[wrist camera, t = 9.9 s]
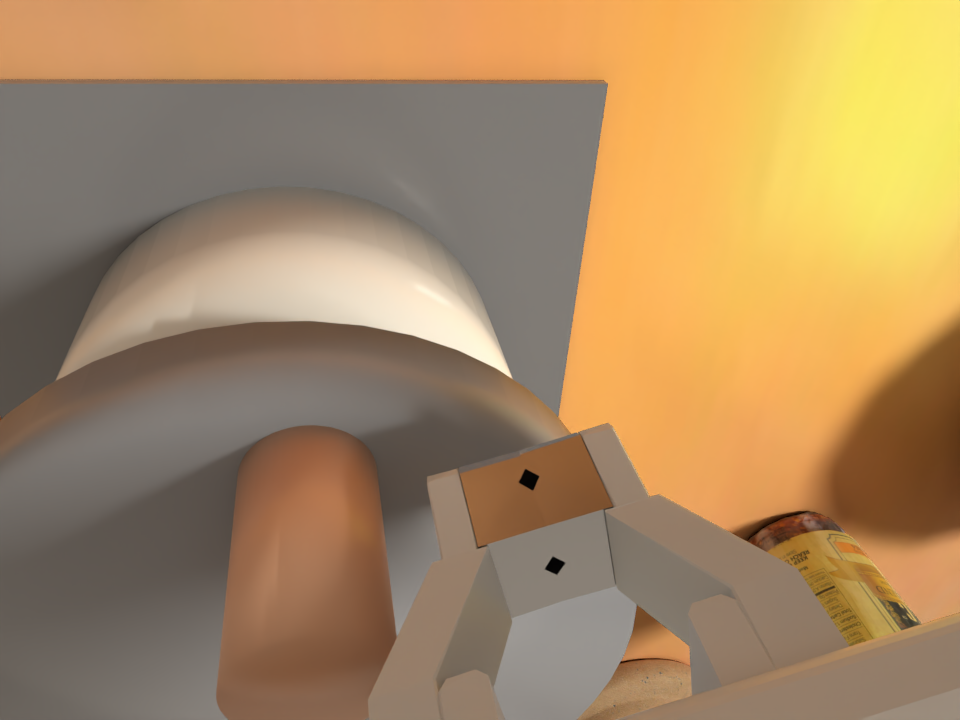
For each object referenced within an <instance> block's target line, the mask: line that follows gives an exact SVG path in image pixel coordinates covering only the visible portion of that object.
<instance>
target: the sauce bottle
mask: <svg viewBox="0 0 960 720" xmlns="http://www.w3.org/2000/svg"><path fill="white" fill-rule="evenodd" d="M747 542H749V543H751V544H753V545H754V546H756V547H758V548H760V549H762V550H764V551H765V552H767V553H769V554H771V555H773V556H775V557H777V558H778V559H780V560H782V561H784V562H786V563H788V564H790V565H791V566H793V567H795V568H797V569H798V570H799V572H800V573H801V575H802V576H803V578H804V579H805V581H806V582H807V584H808V585H809V587H810V588H811V590H812V591H813V593H814V594H815V596H816V597H817V599H818V600H819V602H820V603H821V605H822V606H823V608H824V609H825V611H826V612H827V613H828V615H829V616H830V618H831V619H832V621H833V622H834V624H835V625H836V627H837V628H838V630H839V631H840V633H841V634H842V636H843V637H844V639H845V640H846V642H847V643H848V645H849V646H853V645H856V644H859V643H863V642H866V641H869V640H872V639H875V638H879V637H882V636H885V635H888V634H891V633H895V632H898V631H901V630H904V629H908V628H911V627H914V626H917V625H920V624H921V622H920V621H919V620H918V619H917V617H916V616H915V615H914V614H913V612H912V611H911V610H910V609H909V607H908V606H907V605H906V604H905V602H904V601H903V600H902V598H901V597H900V596H899V595H898V593H897V592H896V591H895V590H894V588H893V587H892V586H891V585H890V583H889V582H888V581H887V580H886V578H885V577H884V576H883V575H882V573H881V572H880V571H879V570H878V568H877V567H876V566H875V564H874V563H873V562H872V561H871V559H870V558H869V557H868V556H867V554H866V553H865V552H864V551H863V549H862V548H861V547H860V546H859V544H858V543H857V542H856V540H855V539H854V538H852V537H851V536H850V535H848V534H846V533H845V532H844V530H843V529H842V528H841V527H839V526H838V524H837V523H835V522H834V521H832V520H831V519H830V518H829V517H825V516H823V515H821V514H818V513H815V512H805V513H803V514H800V515H794V516H790V517H786V518H783V519H780V520H778V521H777V522H774V523H772V524H770V525H768V526H766V527H765V528H763V529H761V530H760V531H759V532H758V533H757V534H756V535H754V536H752V537H751V538H750V539H749V540H748V541H747Z"/></svg>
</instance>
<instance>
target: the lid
mask: <svg viewBox="0 0 960 720" xmlns="http://www.w3.org/2000/svg"><path fill="white" fill-rule="evenodd" d="M570 434H571V433H570V432H569V431H568V429H567V428H566V427H565V426H564V424H563V423H562V422H561V420H560V419H559V418H558V417H557V415H556V414H555V413H554V412H553V411H552V410H551V409H550V408H548V407H547V406H546V405H545V404H544V403H543V402H542V401H541V400H540V399H539V398H537V397H536V396H535V395H534V394H533V393H532V392H531V391H530V390H528V389H527V388H525V387H524V386H522V385H521V384H519V383H518V382H516V381H515V380H513V379H512V378H510V377H509V376H507V375H506V374H504V373H503V372H501V371H500V370H498V369H497V368H494V367H492V366H490V365H488V364H486V363H484V362H482V361H480V360H478V359H476V358H473V357H471V356H469V355H467V354H465V353H463V352H461V351H459V350H456V349H453V348H450V347H447V346H444V345H441V344H438V343H435V342H432V341H428V340H425V339H422V338H419V337H416V336H413V335H408V334H403V333H398V332H393V331H388V330H383V329H378V328H373V327H368V326H363V325H351V324H340V323H328V322H317V321H284V322H252V323H244V324H236V325H229V326H221V327H213V328H206V329H198V330H194V331H190V332H186V333H182V334H178V335H173V336H169V337H165V338H161V339H157V340H153V341H149V342H145V343H142V344H139V345H136V346H134V347H131V348H128V349H126V350H123V351H120V352H117V353H115V354H112V355H109V356H107V357H104V358H101V359H99V360H96V361H93V362H91V363H89V364H87V365H85V366H83V367H81V368H80V369H78V370H76V371H74V372H72V373H70V374H68V375H66V376H64V377H62V378H60V379H58V380H56V381H55V382H53V383H51V384H49V385H47V386H45V387H44V388H43V389H41V390H40V391H38V392H37V393H36V394H34V395H33V396H31V397H30V398H29V399H27V400H26V401H24V402H23V403H21V404H20V405H19V406H17V407H16V408H14V409H13V410H12V411H10V412H9V413H7V414H6V415H5V416H4V417H3V418H2V419H1V420H0V720H369V710H368V698H369V696H370V694H371V692H372V690H373V687H374V685H375V683H376V681H377V679H378V677H379V675H380V673H381V670H382V668H383V666H384V664H385V662H386V660H387V658H388V656H389V653H390V651H391V649H392V647H393V645H394V643H395V641H396V639H397V636H398V634H399V632H400V630H401V628H402V626H403V624H404V622H405V619H406V617H407V615H408V613H409V611H410V609H411V607H412V605H413V602H414V600H415V598H416V596H417V594H418V592H419V590H420V588H421V585H422V583H423V581H424V579H425V577H426V575H427V573H428V571H429V568H430V566H431V564H432V563H433V562H436V561H439V560H441V555H440V550H439V545H438V540H437V535H436V529H435V524H434V519H433V514H432V509H431V503H430V498H429V493H428V488H427V476H431V475H435V474H439V473H442V472H446V471H450V470H453V469H457V468H458V467H462V466H466V465H469V464H473V463H477V462H480V461H484V460H488V459H491V458H495V457H499V456H502V455H506V454H510V453H513V452H517V451H519V450H522V449H525V448H528V447H532V446H535V445H538V444H541V443H544V442H548V441H551V440H554V439H557V438H561V437H564V436H567V435H570ZM458 469H459V468H458ZM636 607H637V604H635V603H634V602H633V601H632V600H630V599H629V598H628V597H627V596H625V595H624V594H623V593H621V592H620V591H619V590H618V589H617V586H615V587H612V588H608V589H605V590H601V591H597V592H594V593H590V594H587V595H583V596H579V597H576V598H572V599H568V600H565V601H561V602H559V603H556V604H553V605H550V606H547V607H544V608H541V609H538V610H535V611H532V612H529V613H526V614H523V615H520V616H517V617H514V618H511V619H512V625H511V629H510V632H509V636H508V639H507V643H506V646H505V650H504V653H503V657H502V660H501V664H500V667H499V671H498V674H497V678H496V681H495V685H494V688H493V689H494V692H495V694H496V697H497V699H498V702H499V705H500V707H501V710H502V712H503V715H504V717H505V720H577V719H578V718H579V717H580V716H581V715H582V714H583V713H584V711H585V710H586V709H587V708H588V707H589V706H590V705H591V704H592V703H593V702H594V701H595V699H596V698H597V697H598V695H599V694H600V693H601V691H602V690H603V689H604V688H605V686H606V685H607V684H608V682H609V681H610V680H611V678H612V676H613V674H614V672H615V671H616V669H617V667H618V665H619V663H620V662H621V660H622V658H623V656H624V654H625V651H626V648H627V645H628V643H629V640H630V637H631V634H632V632H633V626H634V620H635V614H636Z"/></svg>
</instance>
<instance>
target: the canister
mask: <svg viewBox="0 0 960 720" xmlns="http://www.w3.org/2000/svg"><path fill="white" fill-rule="evenodd" d="M607 87H608V83H606V82H605V81H604V80H0V416H1V419H2V418H3V417H4V416H5V415H6V414H7V413H9V412H10V411H12V410H13V409H14V408H16V407H17V406H19V405H20V404H21V403H23V402H24V401H26V400H27V399H29V398H30V397H31V396H33V395H34V394H36V393H37V392H38V391H40V390H41V389H43V388H44V387H45V386H47V385H49V384H51V383H53V382H55V381H56V380H58V379H60V378H62V377H64V376H66V375H68V374H70V373H72V372H74V371H76V370H78V369H80V368H81V367H83V366H85V365H87V364H89V363H91V362H93V361H96V360H99V359H101V358H104V357H107V356H109V355H112V354H115V353H117V352H120V351H123V350H126V349H128V348H131V347H134V346H136V345H139V344H142V343H145V342H149V341H153V340H157V339H161V338H165V337H169V336H173V335H178V334H182V333H186V332H190V331H194V330H198V329H206V328H213V327H221V326H229V325H236V324H244V323H252V322H284V321H317V322H328V323H340V324H351V325H363V326H368V327H373V328H378V329H383V330H388V331H393V332H398V333H403V334H408V335H413V336H416V337H419V338H422V339H425V340H428V341H432V342H435V343H438V344H441V345H444V346H447V347H450V348H453V349H456V350H459V351H461V352H463V353H465V354H467V355H469V356H471V357H473V358H476V359H478V360H480V361H482V362H484V363H486V364H488V365H490V366H492V367H494V368H497V369H498V370H500V371H501V372H503V373H504V374H506V375H507V376H509V377H510V378H512V379H513V380H515V381H516V382H518V383H519V384H521V385H522V386H524V387H525V388H527V389H528V390H530V391H531V392H532V393H533V394H534V395H535V396H536V397H537V398H539V399H540V400H541V401H542V402H543V403H544V404H545V405H546V406H547V407H548V408H550V409H551V410H552V411H553V412H554V413H555V414H556V415H557V417H558V415H559V408H560V401H561V395H562V388H563V381H564V375H565V368H566V361H567V354H568V348H569V341H570V334H571V328H572V321H573V314H574V308H575V301H576V294H577V287H578V281H579V274H580V267H581V261H582V254H583V247H584V241H585V234H586V227H587V220H588V214H589V207H590V200H591V194H592V187H593V180H594V174H595V167H596V160H597V154H598V147H599V140H600V133H601V127H602V120H603V113H604V107H605V100H606V93H607Z"/></svg>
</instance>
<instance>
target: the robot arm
mask: <svg viewBox="0 0 960 720" xmlns="http://www.w3.org/2000/svg"><path fill="white" fill-rule="evenodd" d="M458 468H459V469H458ZM458 468H457V469H453V470H450V471H446V472H442V473H439V474H435V475H431V476H427V488H428V493H429V498H430V503H431V509H432V514H433V519H434V524H435V529H436V535H437V540H438V545H439V550H440V555H441V560H439V561H436V562H433V563H432V564H431V566H430V568H429V571H428V573H427V575H426V577H425V579H424V581H423V583H422V585H421V588H420V590H419V592H418V594H417V596H416V598H415V600H414V602H413V605H412V607H411V609H410V611H409V613H408V615H407V617H406V619H405V622H404V624H403V626H402V628H401V630H400V632H399V634H398V636H397V639H396V641H395V643H394V645H393V647H392V649H391V651H390V653H389V656H388V658H387V660H386V662H385V664H384V666H383V668H382V670H381V673H380V675H379V677H378V679H377V681H376V683H375V685H374V687H373V690H372V692H371V694H370V696H369V698H368V710H369V720H505V717H504V715H503V712H502V710H501V707H500V705H499V702H498V699H497V697H496V694H495V692H494V689H493V688H494V685H495V681H496V678H497V674H498V671H499V667H500V664H501V660H502V657H503V653H504V650H505V646H506V643H507V639H508V636H509V632H510V629H511V625H512V619H511V618H514V617H517V616H520V615H523V614H526V613H529V612H532V611H535V610H538V609H541V608H544V607H547V606H550V605H553V604H556V603H559V602H561V601H565V600H568V599H572V598H576V597H579V596H583V595H587V594H590V593H594V592H597V591H601V590H605V589H608V588H612V587H615V586H617V589H618V590H619V591H620V592H621V593H623V594H624V595H625V596H627V597H628V598H629V599H630V600H632V601H633V602H634V603H635V604H637V605H638V606H639V607H640V608H642V609H643V610H644V611H646V612H647V613H648V614H649V615H651V616H652V617H653V618H654V619H656V620H657V621H658V622H659V623H661V624H662V625H663V626H665V627H666V628H667V629H668V630H670V631H671V632H672V633H673V634H675V635H676V636H677V637H679V638H680V639H681V640H682V641H684V642H685V643H686V644H687V645H689V646H690V667H691V688H692V696H689V697H686V698H683V699H680V700H677V701H673V702H670V703H667V704H664V705H661V706H657V707H654V708H651V709H648V710H645V711H641V712H638V713H635V714H632V715H629V716H625V717H622V718H619V719H616V720H960V612H959V613H956V614H952V615H949V616H946V617H943V618H940V619H936V620H933V621H930V622H927V623H924V624H920V625H917V626H914V627H911V628H908V629H904V630H901V631H898V632H895V633H891V634H888V635H885V636H882V637H879V638H875V639H872V640H869V641H866V642H863V643H859V644H856V645H853V646H849V645H848V643H847V642H846V640H845V639H844V637H843V636H842V634H841V633H840V631H839V630H838V628H837V627H836V625H835V624H834V622H833V621H832V619H831V618H830V616H829V615H828V613H827V612H826V611H825V609H824V608H823V606H822V605H821V603H820V602H819V600H818V599H817V597H816V596H815V594H814V593H813V591H812V590H811V588H810V587H809V585H808V584H807V582H806V581H805V579H804V578H803V576H802V575H801V573H800V572H799V570H798V569H797V568H795V567H793V566H791V565H790V564H788V563H786V562H784V561H782V560H780V559H778V558H777V557H775V556H773V555H771V554H769V553H767V552H765V551H764V550H762V549H760V548H758V547H756V546H754V545H753V544H751V543H749V542H747V541H745V540H743V539H741V538H740V537H738V536H736V535H734V534H732V533H730V532H728V531H727V530H725V529H723V528H721V527H719V526H717V525H715V524H714V523H712V522H710V521H708V520H706V519H704V518H703V517H701V516H699V515H697V514H695V513H693V512H691V511H690V510H688V509H686V508H684V507H682V506H680V505H678V504H677V503H675V502H673V501H671V500H669V499H667V498H665V497H664V496H662V495H660V494H658V495H654V496H651V497H650V496H649V494H648V492H647V490H646V488H645V486H644V484H643V482H642V481H641V479H640V477H639V475H638V473H637V471H636V469H635V467H634V465H633V464H632V462H631V460H630V458H629V456H628V454H627V452H626V450H625V448H624V447H623V445H622V443H621V441H620V439H619V437H618V435H617V433H616V431H615V430H614V428H613V426H612V425H610V424H609V423H606V424H603V425H600V426H596V427H593V428H590V429H587V430H583V431H580V432H578V433H574V434H570V435H567V436H564V437H561V438H557V439H554V440H551V441H548V442H544V443H541V444H538V445H535V446H532V447H528V448H525V449H522V450H519V451H517V452H513V453H510V454H506V455H502V456H499V457H495V458H491V459H488V460H484V461H480V462H477V463H473V464H469V465H466V466H462V467H458Z"/></svg>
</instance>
